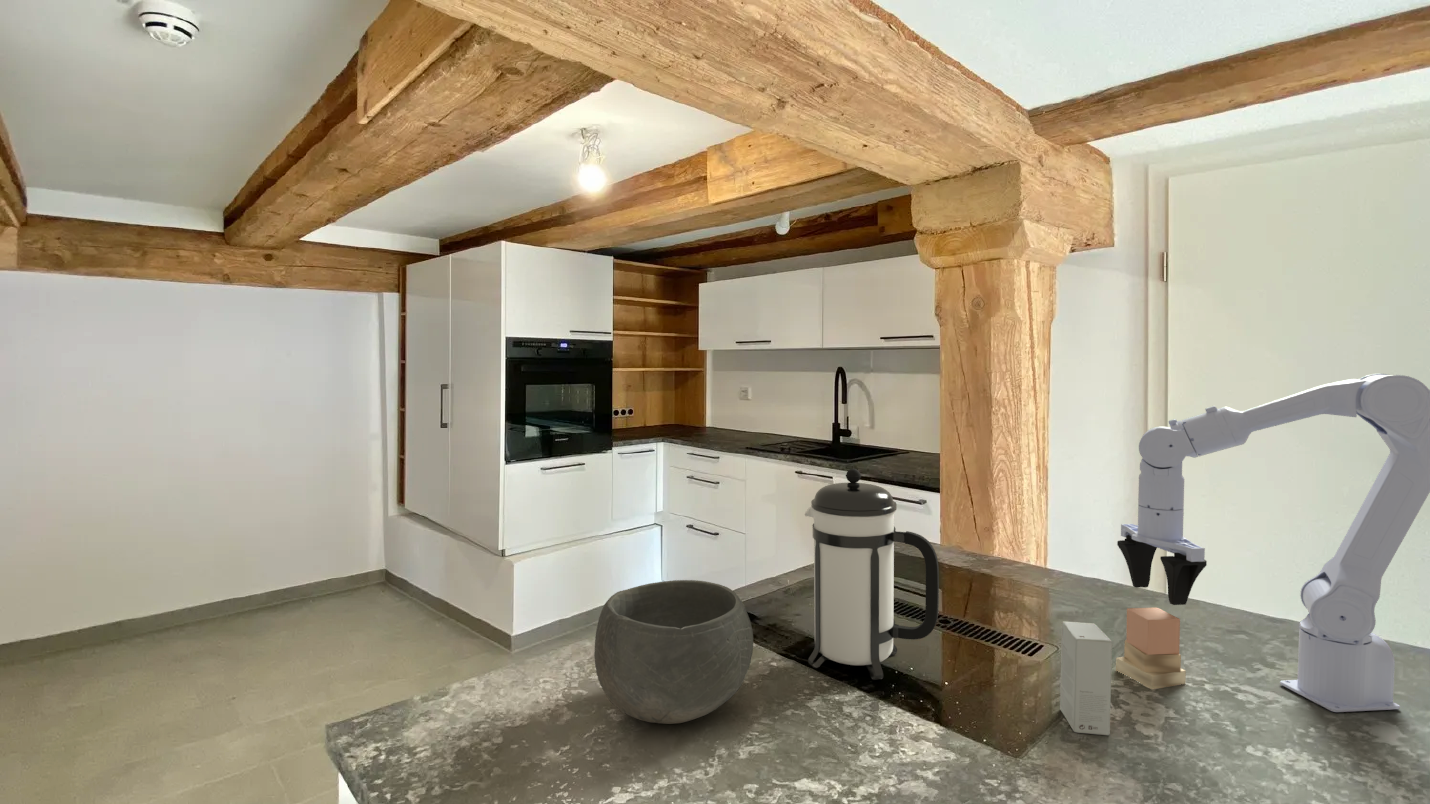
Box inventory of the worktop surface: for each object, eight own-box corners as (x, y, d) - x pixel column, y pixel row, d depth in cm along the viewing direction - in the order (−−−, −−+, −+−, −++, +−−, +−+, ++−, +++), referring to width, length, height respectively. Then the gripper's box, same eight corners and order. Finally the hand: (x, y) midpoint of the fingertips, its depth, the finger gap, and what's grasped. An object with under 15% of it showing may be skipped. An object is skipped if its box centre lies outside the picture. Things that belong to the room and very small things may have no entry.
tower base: (1148, 669, 101) (1148, 653, 101) (1185, 687, 95) (1185, 670, 95) (1115, 674, 100) (1116, 657, 99) (1151, 693, 94) (1152, 676, 94)
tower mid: (1158, 657, 100) (1159, 640, 100) (1180, 672, 95) (1181, 655, 95) (1124, 656, 100) (1124, 640, 100) (1144, 672, 95) (1144, 654, 95)
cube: (1156, 640, 99) (1157, 607, 99) (1179, 653, 95) (1179, 619, 95) (1126, 641, 99) (1126, 608, 99) (1147, 654, 95) (1148, 620, 94)
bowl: (731, 665, 103) (729, 569, 102) (775, 739, 82) (774, 620, 82) (591, 683, 98) (589, 582, 97) (602, 766, 77) (599, 639, 77)
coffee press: (831, 692, 94) (830, 480, 92) (791, 645, 110) (790, 464, 108) (941, 677, 98) (942, 474, 97) (888, 634, 114) (888, 459, 112)
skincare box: (1111, 737, 82) (1113, 641, 81) (1073, 733, 83) (1075, 638, 82) (1093, 711, 88) (1095, 622, 87) (1058, 708, 89) (1060, 620, 88)
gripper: (1103, 497, 108) (1102, 580, 109) (1172, 518, 93) (1170, 613, 94) (1144, 496, 108) (1143, 579, 109) (1219, 516, 94) (1216, 611, 95)
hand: (1158, 595), depth 102 cm, fingers open, 7 cm apart
